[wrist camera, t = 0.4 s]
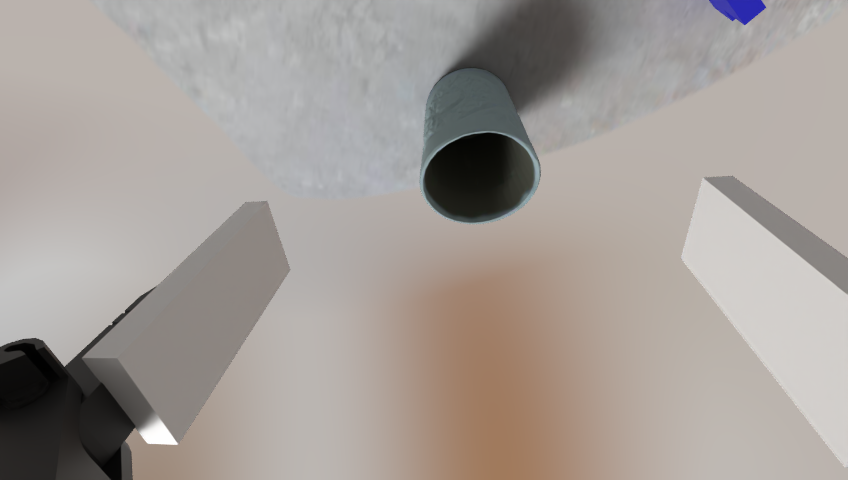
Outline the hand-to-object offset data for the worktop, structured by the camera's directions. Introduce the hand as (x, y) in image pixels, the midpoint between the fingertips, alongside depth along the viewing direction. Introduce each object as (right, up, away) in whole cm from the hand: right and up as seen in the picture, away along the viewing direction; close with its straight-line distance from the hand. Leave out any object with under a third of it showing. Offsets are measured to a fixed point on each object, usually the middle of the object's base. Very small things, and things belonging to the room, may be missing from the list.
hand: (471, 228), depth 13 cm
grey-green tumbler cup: (+3, +14, +29) cm, 32 cm away
